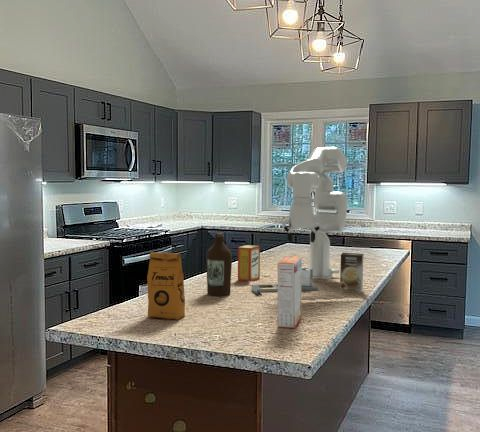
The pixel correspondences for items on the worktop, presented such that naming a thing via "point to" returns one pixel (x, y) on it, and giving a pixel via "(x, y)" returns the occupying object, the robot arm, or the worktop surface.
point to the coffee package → (165, 286)
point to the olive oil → (218, 268)
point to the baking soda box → (248, 263)
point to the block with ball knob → (311, 275)
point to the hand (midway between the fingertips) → (301, 242)
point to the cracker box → (289, 292)
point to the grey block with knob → (305, 278)
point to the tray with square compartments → (276, 288)
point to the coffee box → (351, 271)
